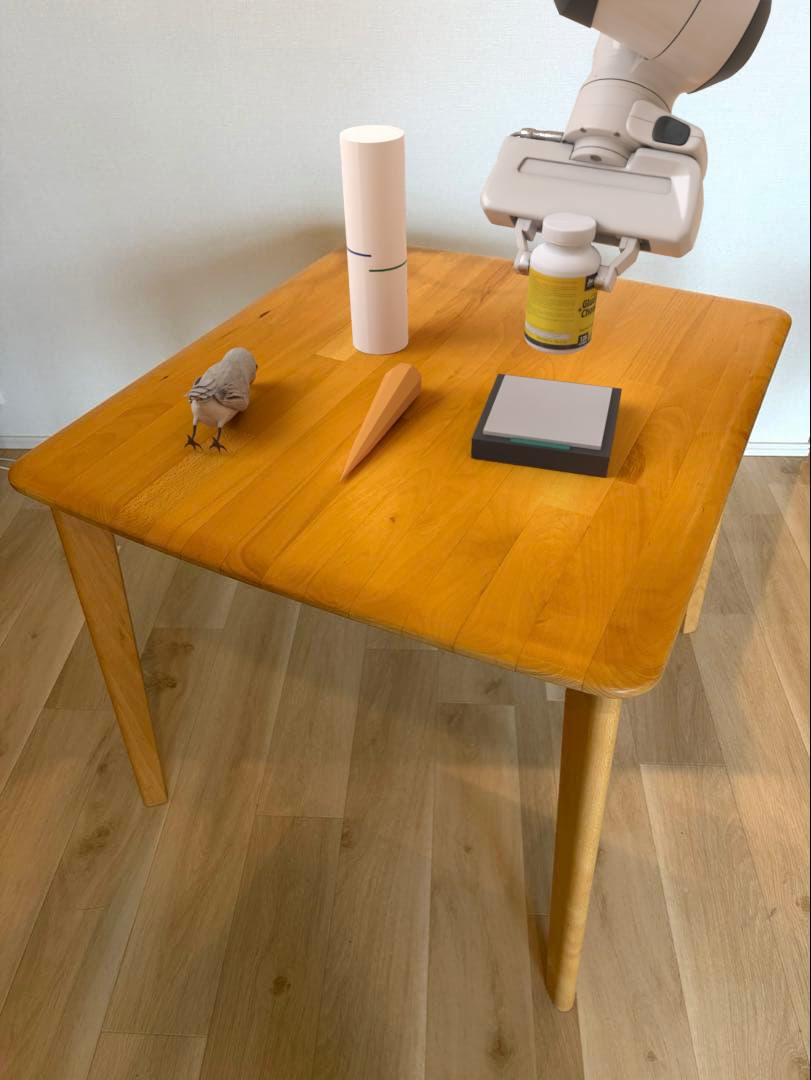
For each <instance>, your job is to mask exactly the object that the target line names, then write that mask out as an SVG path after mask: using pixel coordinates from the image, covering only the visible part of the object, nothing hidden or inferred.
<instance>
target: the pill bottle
mask: <svg viewBox="0 0 811 1080" xmlns="http://www.w3.org/2000/svg"><path fill="white" fill-rule="evenodd" d="M595 232H596V221H595V220H594V219H593V218H591V217H589V216H584V215H578V214H573V213H556V214H552V215H549V216H547V217H546V218H545V219H544V221H543V228H542V233H541V237H542V239H543V240H544V241H543V242H542V243H540V244H538V245H537V246H536V247H535V248H534V249H533V250H532V251H531V252H532V254H531V257H530V266H529V276H528V280H527V292H526V304H525V305H526V306H525V319H524V332H523V336H524V340H525V342H526V343H527V345H529V347H531V348H533V350H536V351H538V352H541V353H545V354H549V355H556V356H559V355H560V356H562V355H563V356H564V355H571V354H575V353H578V352H580V351H583V350H585V349H586V348H587V347H588V346H589V344H590V343H591V340H592V336H593V330H594V329H593V328H594V321H595V313H596V306H597V298H598V291H599V290H596V289H595V287H594V285H593V283H594V278H595V276H596V275H598V273H597V270H598V268H599V265H602V255H601V253H600V251H599V250H598V248H596V247H595V246H594V245H593V244H592V243H593V242H592V241H593V240H594V237H595Z"/></svg>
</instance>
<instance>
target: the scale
mask: <svg viewBox="0 0 811 1080" xmlns="http://www.w3.org/2000/svg"><path fill="white" fill-rule="evenodd" d="M622 390H623V389H622V388H620V387H614V386H613V387H612V386H603V385H597V384H587V383H579V382H571V381H564V380H563V381H562V380H553V379H546V378H539V377H538V378H537V377H529V376H521V375H514V374H513V375H512V374H504V373H497V375H496V377H495V380H494V383H493V385H492V387H491V390H490V392H489V395H488V397H487V400H486V402H485V405H484V407H483V409H482V412H481V414H480V416H479V418H478V421H477V424H476V426H475V429H474V432H473V434H472V436H471V442H470V444H471V445H470V448H471V449H470V459H474V460H482V461H489V462H497V463H502V464H509V465H517V466H524V467H532V468H537V469H543V470H544V469H545V470H551V471H557V472H564V473H570V474H571V473H573V474H579V475H586V476H593V477H599V478H607V475H608V470H609V465H610V459H611V453H612V447H613V443H614V437H615V431H616V426H617V421H618V414H619V410H620V409H619V408H620V403H621V396H622Z"/></svg>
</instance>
